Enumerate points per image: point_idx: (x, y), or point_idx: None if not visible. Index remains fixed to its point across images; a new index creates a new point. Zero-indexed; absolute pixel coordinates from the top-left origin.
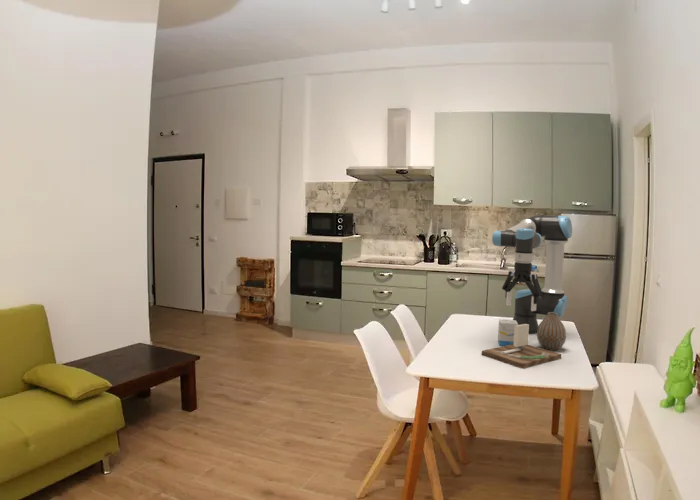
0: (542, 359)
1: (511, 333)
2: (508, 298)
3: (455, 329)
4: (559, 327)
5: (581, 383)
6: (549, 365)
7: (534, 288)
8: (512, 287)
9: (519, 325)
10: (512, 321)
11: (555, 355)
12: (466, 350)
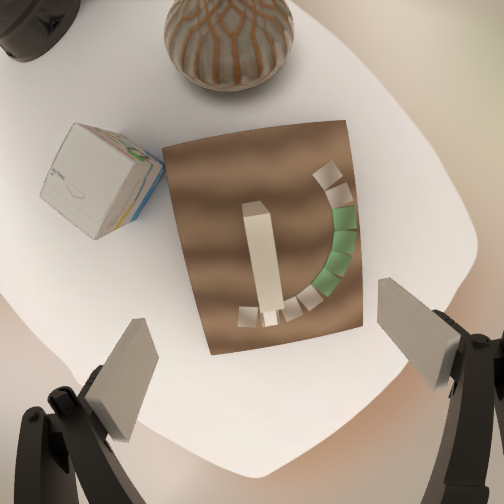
0: (359, 232)
1: (138, 189)
2: (140, 388)
3: None
4: (288, 21)
5: (469, 259)
6: (375, 223)
7: (488, 413)
8: (106, 453)
9: (267, 285)
10: (86, 157)
11: (350, 154)
12: (159, 356)
